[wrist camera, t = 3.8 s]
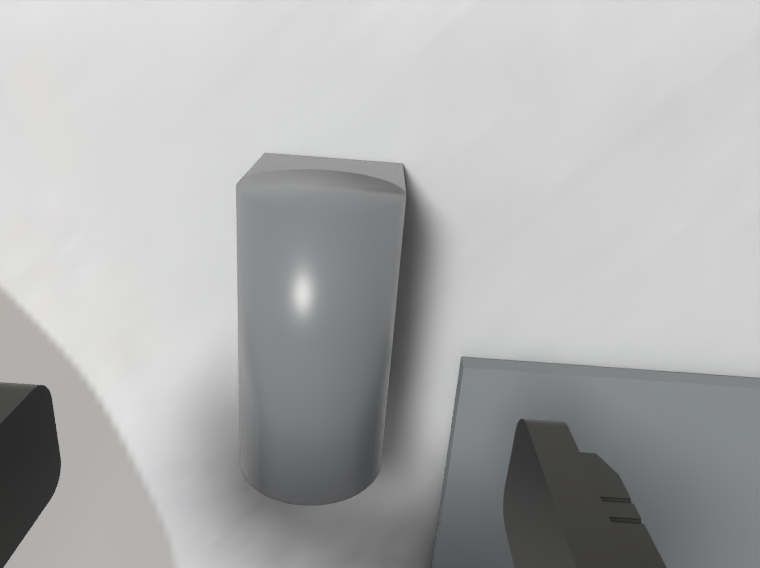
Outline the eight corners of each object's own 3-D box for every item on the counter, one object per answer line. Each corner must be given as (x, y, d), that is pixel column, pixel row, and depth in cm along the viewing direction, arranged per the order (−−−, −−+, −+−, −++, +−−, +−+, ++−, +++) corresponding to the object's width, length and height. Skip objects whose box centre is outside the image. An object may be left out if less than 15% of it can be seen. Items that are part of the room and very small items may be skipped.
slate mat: (930, 390, 19) (946, 401, 18) (779, 703, 24) (789, 719, 24) (460, 357, 19) (463, 367, 18) (415, 680, 24) (416, 696, 23)
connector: (402, 163, 17) (409, 219, 12) (379, 425, 20) (377, 549, 15) (264, 153, 16) (217, 204, 12) (263, 417, 20) (225, 539, 15)
